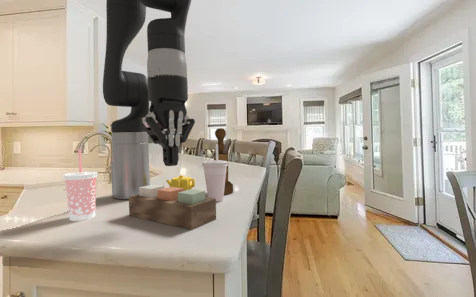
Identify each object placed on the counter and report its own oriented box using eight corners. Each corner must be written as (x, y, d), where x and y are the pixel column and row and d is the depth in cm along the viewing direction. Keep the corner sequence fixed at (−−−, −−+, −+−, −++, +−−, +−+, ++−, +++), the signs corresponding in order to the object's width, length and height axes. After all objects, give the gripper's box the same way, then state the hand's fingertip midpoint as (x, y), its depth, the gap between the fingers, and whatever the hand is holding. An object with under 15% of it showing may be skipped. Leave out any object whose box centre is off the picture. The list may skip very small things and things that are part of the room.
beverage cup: (82, 223, 54) (79, 149, 53) (57, 220, 56) (53, 149, 55) (106, 214, 60) (103, 147, 59) (82, 212, 62) (79, 147, 61)
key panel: (129, 215, 59) (128, 196, 58) (155, 207, 64) (155, 190, 64) (191, 229, 49) (191, 206, 49) (216, 219, 55) (215, 198, 55)
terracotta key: (157, 204, 56) (157, 189, 56) (171, 201, 59) (170, 186, 59) (171, 207, 54) (170, 191, 54) (184, 203, 57) (183, 188, 57)
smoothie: (225, 203, 67) (224, 144, 66) (199, 202, 68) (197, 144, 68) (231, 197, 73) (230, 143, 73) (207, 196, 75) (206, 143, 74)
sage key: (178, 208, 53) (177, 192, 53) (191, 204, 56) (190, 189, 56) (192, 211, 51) (192, 194, 51) (205, 206, 54) (205, 191, 54)
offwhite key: (139, 201, 59) (139, 187, 59) (153, 198, 62) (152, 184, 62) (151, 203, 57) (150, 188, 57) (164, 200, 60) (164, 185, 60)
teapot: (162, 196, 76) (162, 177, 76) (169, 192, 82) (168, 174, 82) (192, 196, 76) (191, 177, 75) (196, 192, 81) (196, 174, 81)
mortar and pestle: (232, 195, 76) (231, 127, 76) (208, 195, 77) (207, 128, 76) (233, 190, 83) (232, 128, 82) (211, 190, 83) (209, 128, 82)
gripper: (177, 84, 63) (180, 162, 64) (126, 74, 52) (130, 168, 53) (204, 79, 59) (207, 163, 60) (154, 67, 48) (158, 170, 49)
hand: (171, 165), depth 56 cm, fingers closed
